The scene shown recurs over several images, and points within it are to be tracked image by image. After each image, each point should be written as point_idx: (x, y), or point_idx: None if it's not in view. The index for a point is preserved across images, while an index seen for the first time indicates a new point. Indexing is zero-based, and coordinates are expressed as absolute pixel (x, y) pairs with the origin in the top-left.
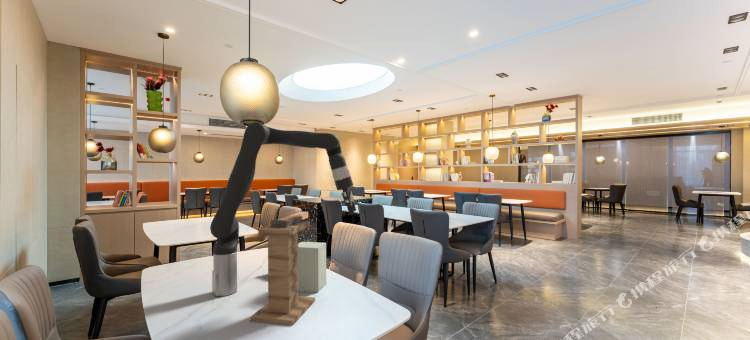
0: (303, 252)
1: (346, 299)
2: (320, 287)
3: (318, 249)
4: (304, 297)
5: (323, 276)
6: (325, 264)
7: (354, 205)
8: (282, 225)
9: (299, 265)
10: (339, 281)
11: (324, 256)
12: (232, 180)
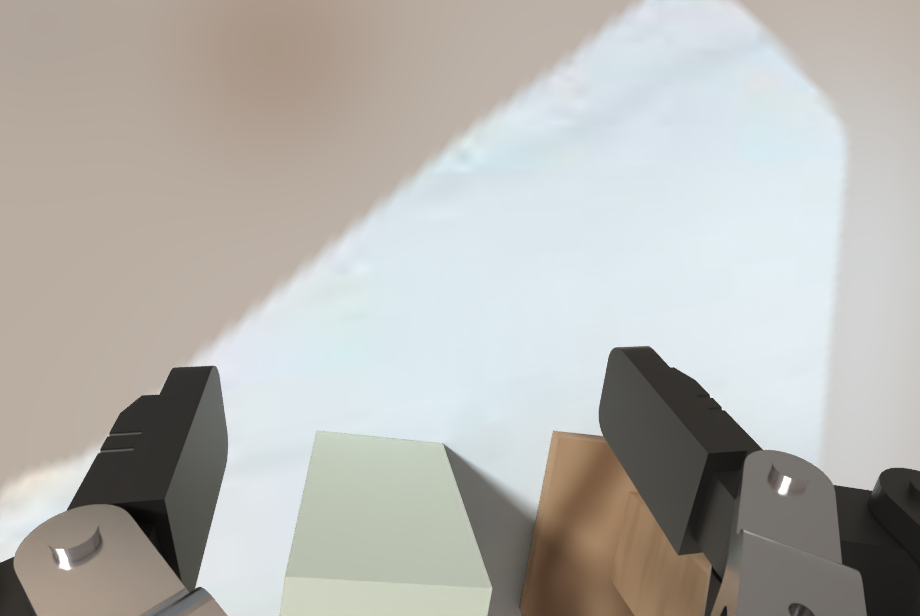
0: None
1: (534, 282)
2: (413, 445)
3: (484, 579)
4: (559, 486)
5: (363, 459)
6: (319, 485)
7: (183, 443)
8: None
9: None
10: (266, 361)
11: (338, 518)
12: None
